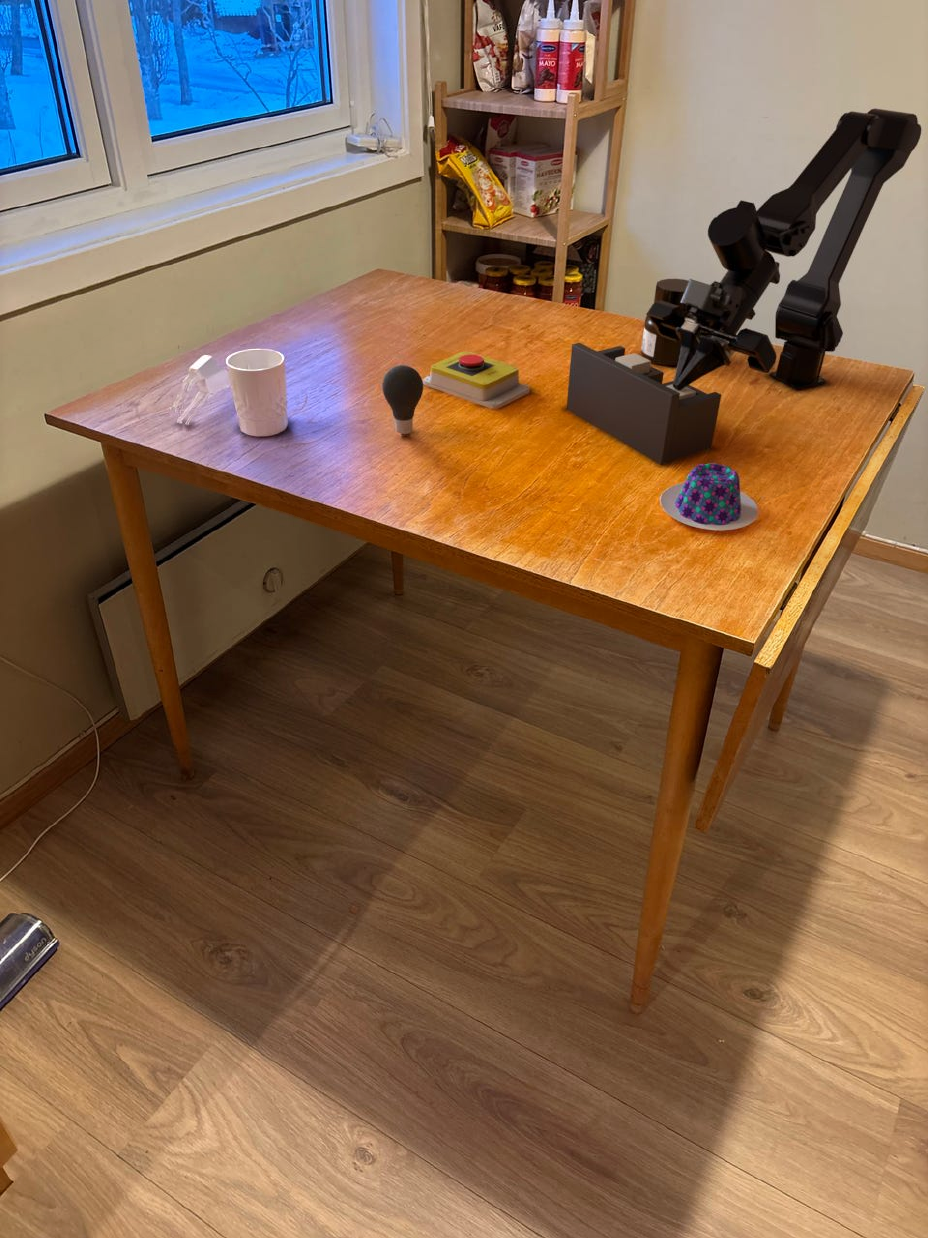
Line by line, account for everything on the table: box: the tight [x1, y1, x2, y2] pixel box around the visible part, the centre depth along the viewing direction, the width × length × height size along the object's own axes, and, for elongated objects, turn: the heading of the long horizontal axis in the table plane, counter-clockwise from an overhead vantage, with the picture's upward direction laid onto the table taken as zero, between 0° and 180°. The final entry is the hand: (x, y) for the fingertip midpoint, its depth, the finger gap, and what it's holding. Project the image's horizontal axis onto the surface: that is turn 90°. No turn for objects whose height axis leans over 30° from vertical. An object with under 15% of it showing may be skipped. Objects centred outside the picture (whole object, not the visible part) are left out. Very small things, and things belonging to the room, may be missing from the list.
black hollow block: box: [565, 342, 722, 466], centre depth 130 cm, size 9×21×10 cm, turn 33°
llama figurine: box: [169, 354, 231, 426], centre depth 136 cm, size 2×11×18 cm
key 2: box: [667, 384, 696, 400], centre depth 127 cm, size 4×4×2 cm
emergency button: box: [422, 350, 531, 410], centre depth 143 cm, size 9×4×15 cm
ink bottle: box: [640, 278, 697, 367], centre depth 152 cm, size 10×9×12 cm
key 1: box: [615, 352, 652, 374], centre depth 133 cm, size 4×4×2 cm
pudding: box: [659, 462, 759, 531], centre depth 113 cm, size 12×12×5 cm
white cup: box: [225, 348, 289, 437], centre depth 129 cm, size 8×8×10 cm
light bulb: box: [381, 364, 424, 437], centre depth 128 cm, size 6×6×10 cm
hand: (675, 388), depth 126 cm, fingers closed, pressing on key 2
